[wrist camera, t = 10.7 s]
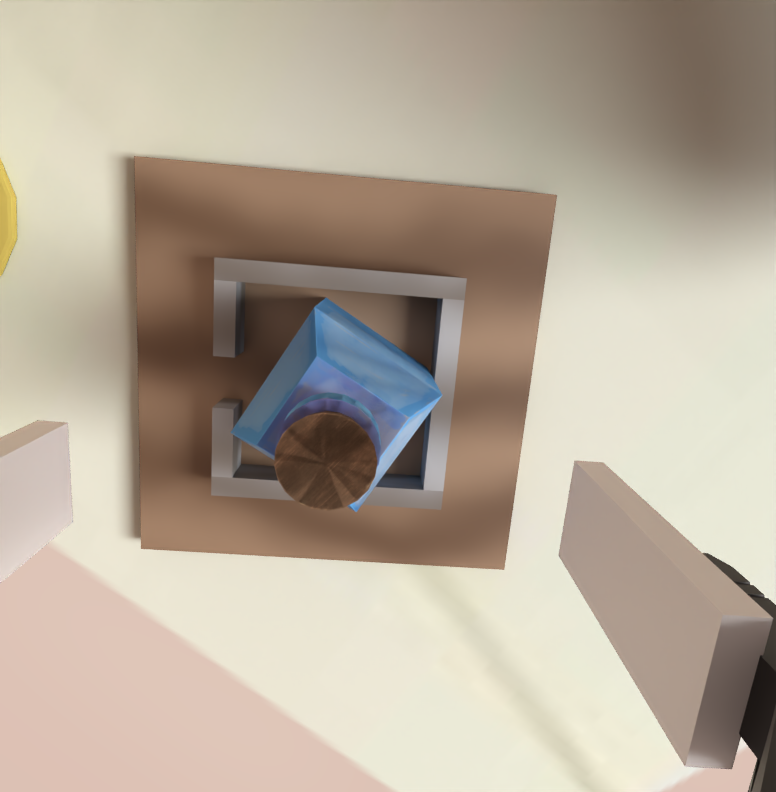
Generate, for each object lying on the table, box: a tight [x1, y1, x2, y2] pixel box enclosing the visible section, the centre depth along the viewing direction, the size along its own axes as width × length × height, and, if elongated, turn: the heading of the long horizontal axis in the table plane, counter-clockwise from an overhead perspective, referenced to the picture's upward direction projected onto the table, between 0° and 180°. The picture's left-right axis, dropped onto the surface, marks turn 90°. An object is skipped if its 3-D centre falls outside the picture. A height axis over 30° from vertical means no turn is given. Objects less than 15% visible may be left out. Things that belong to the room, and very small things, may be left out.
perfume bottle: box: [231, 298, 442, 512], centre depth 23 cm, size 6×6×12 cm
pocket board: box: [134, 156, 557, 570], centre depth 29 cm, size 20×20×3 cm
